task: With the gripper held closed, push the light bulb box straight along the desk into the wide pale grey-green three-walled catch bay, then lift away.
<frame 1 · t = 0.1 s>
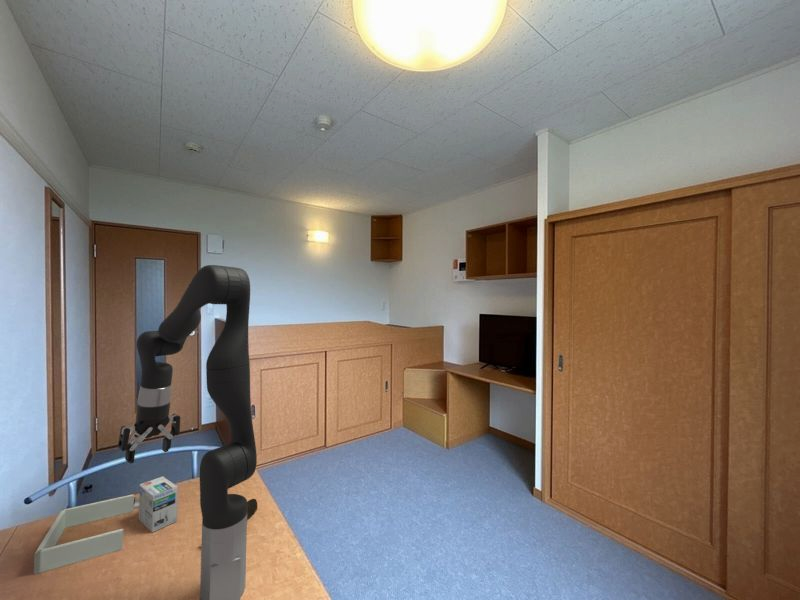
hand: (148, 456, 95), 22 cm above the table, tool pointing down, fingers open, 8 cm apart
hand tool: (232, 528, 99), on the table
light bulb box: (157, 521, 102), on the table
catch bay: (91, 537, 94), on the table
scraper: (110, 509, 106), on the table
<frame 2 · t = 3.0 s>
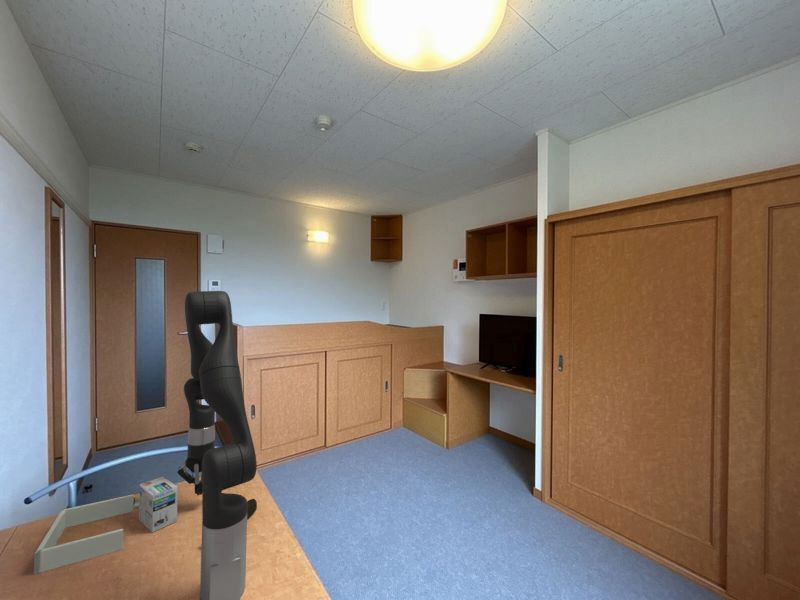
hand: (199, 493, 108), 5 cm above the table, tool pointing down, fingers closed
nothing on the table moved.
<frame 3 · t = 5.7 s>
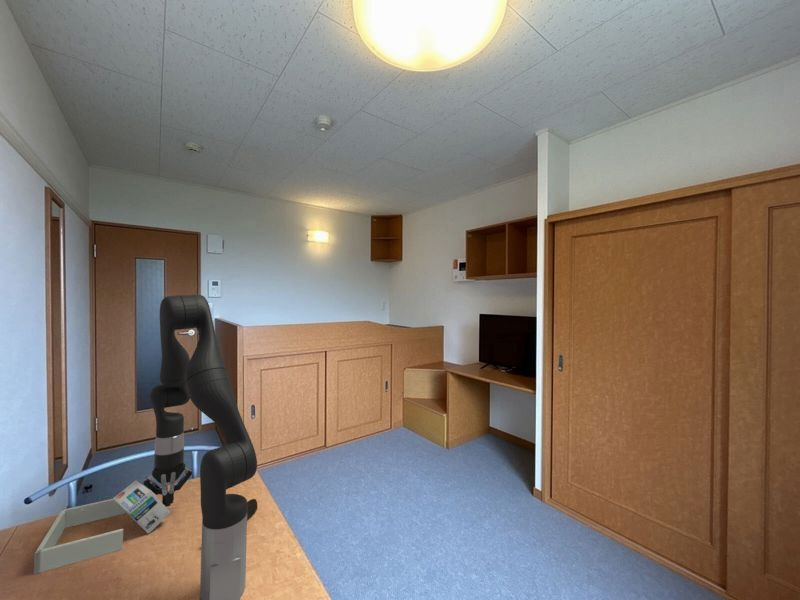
hand: (168, 505, 103), 4 cm above the table, tool pointing down, fingers closed
light bulb box: (152, 517, 101), point 1 cm above the table, touching gripper
everything else where it was.
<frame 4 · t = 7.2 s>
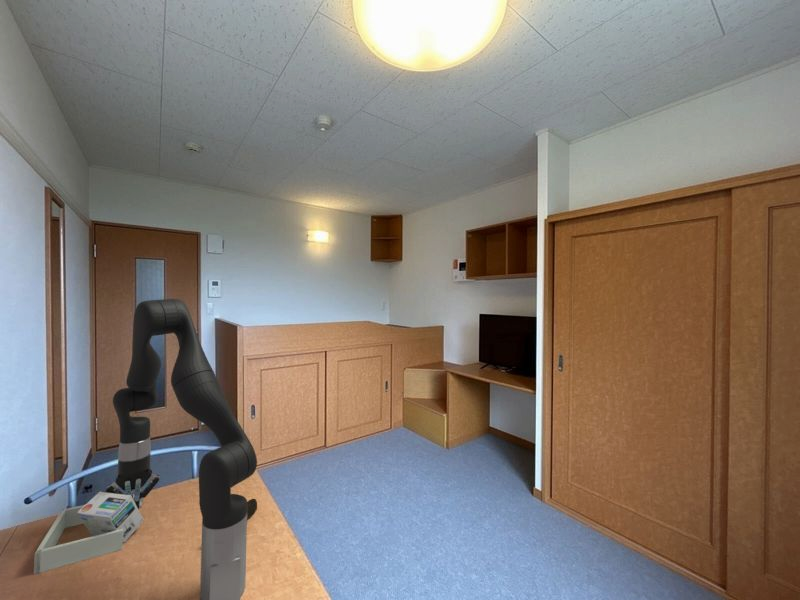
hand: (133, 513, 99), 4 cm above the table, tool pointing down, fingers closed
light bulb box: (119, 529, 96), point 1 cm above the table, touching catch bay, gripper
everything else where it was.
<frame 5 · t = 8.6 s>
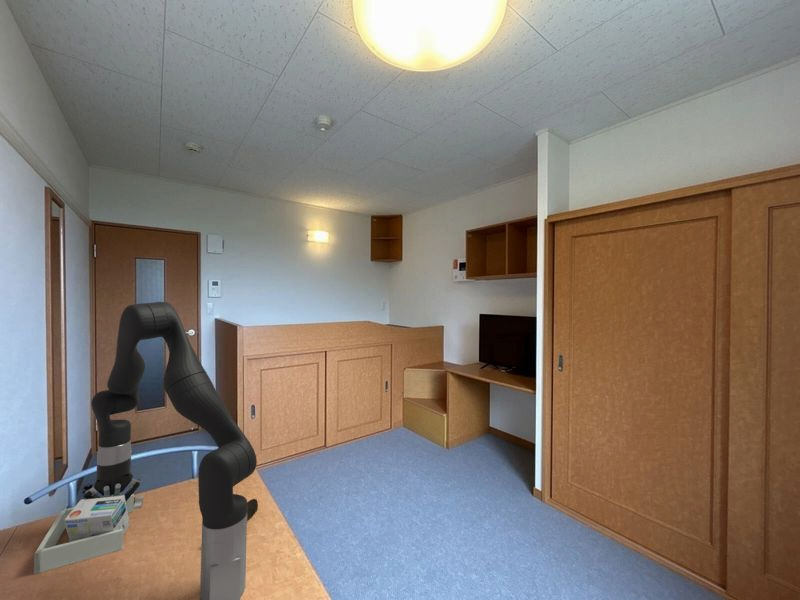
hand: (112, 518, 97), 4 cm above the table, tool pointing down, fingers closed
light bulb box: (101, 538, 93), point 1 cm above the table, touching catch bay, gripper
everything else where it was.
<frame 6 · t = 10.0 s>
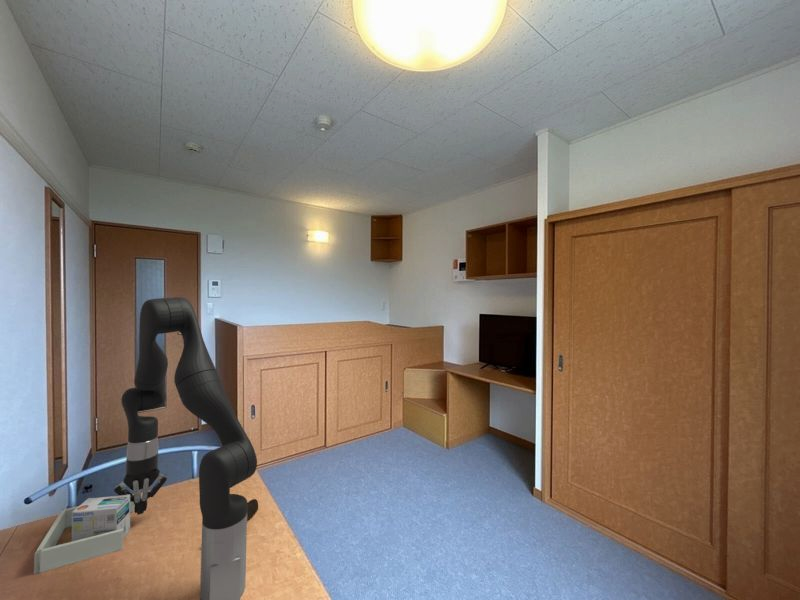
hand: (140, 512, 100), 4 cm above the table, tool pointing down, fingers closed
light bulb box: (101, 541, 92), on the table
everything else where it was.
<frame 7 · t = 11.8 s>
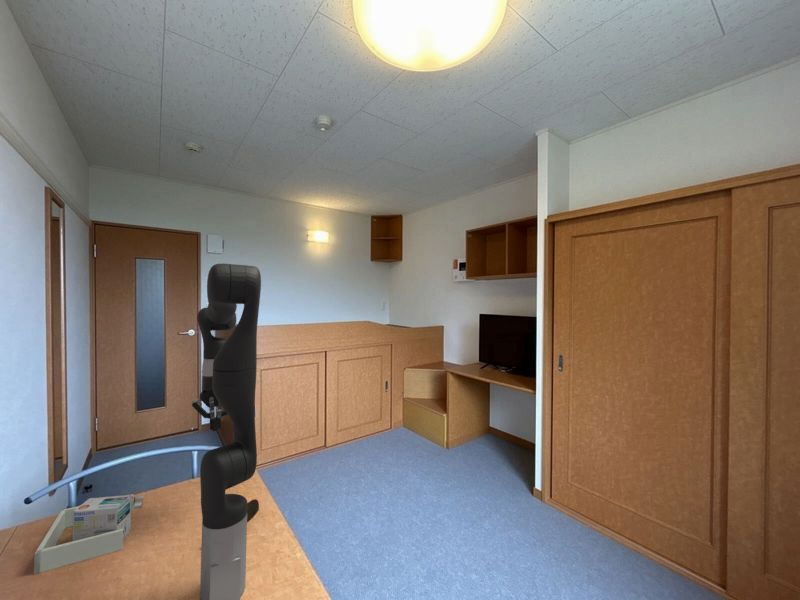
hand: (215, 430, 102), 28 cm above the table, tool pointing down, fingers closed
nothing on the table moved.
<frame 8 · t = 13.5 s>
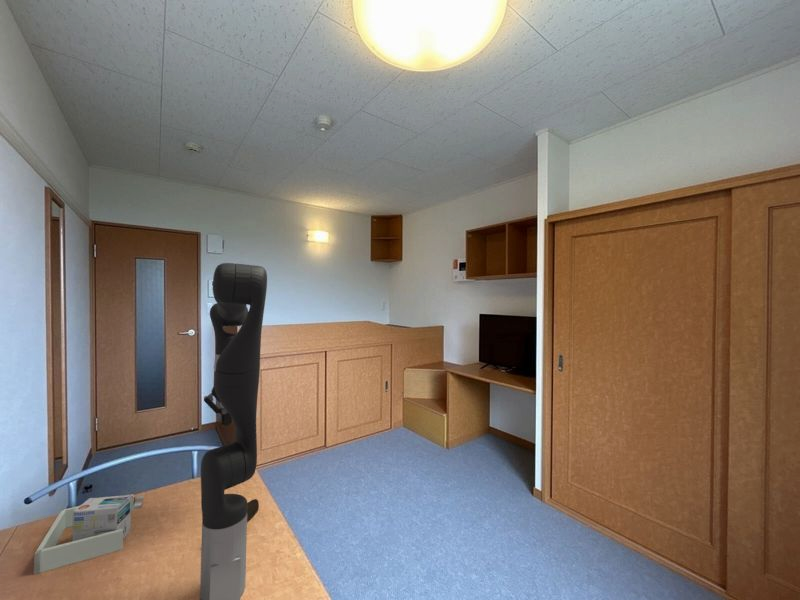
hand: (226, 425, 102), 29 cm above the table, tool pointing down, fingers closed
nothing on the table moved.
at the end: light bulb box inside the target area (4.7 cm from its centre), on the table; light bulb box tilted 0°; light bulb box moved 12.6 cm from its start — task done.
